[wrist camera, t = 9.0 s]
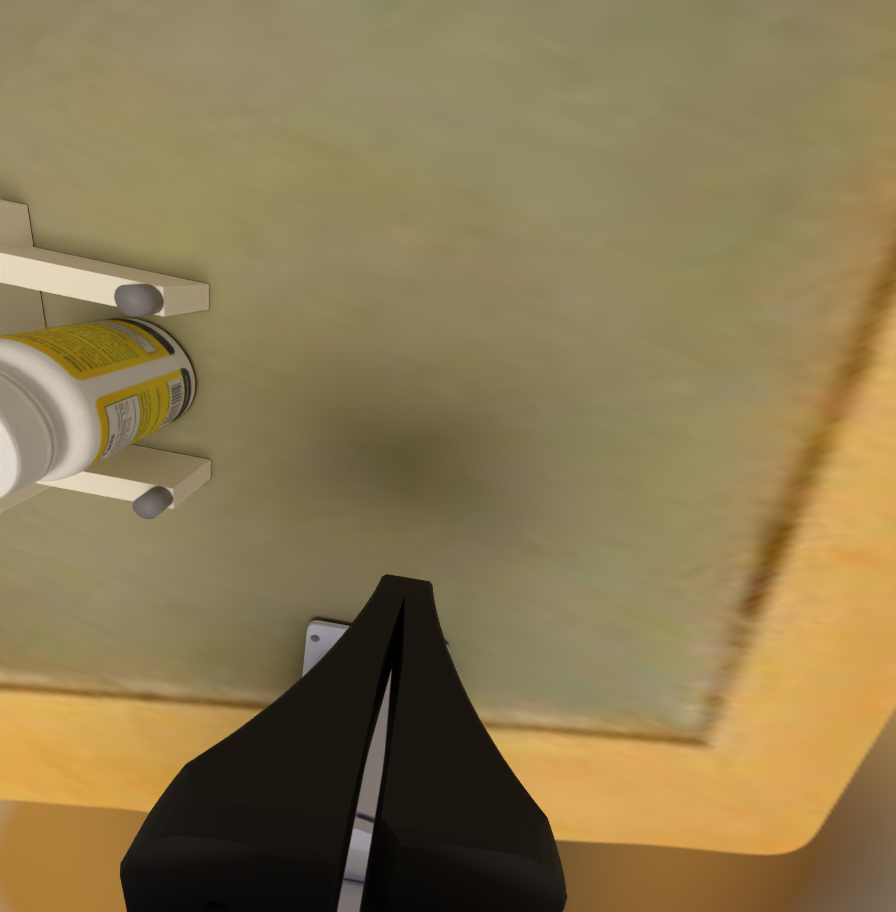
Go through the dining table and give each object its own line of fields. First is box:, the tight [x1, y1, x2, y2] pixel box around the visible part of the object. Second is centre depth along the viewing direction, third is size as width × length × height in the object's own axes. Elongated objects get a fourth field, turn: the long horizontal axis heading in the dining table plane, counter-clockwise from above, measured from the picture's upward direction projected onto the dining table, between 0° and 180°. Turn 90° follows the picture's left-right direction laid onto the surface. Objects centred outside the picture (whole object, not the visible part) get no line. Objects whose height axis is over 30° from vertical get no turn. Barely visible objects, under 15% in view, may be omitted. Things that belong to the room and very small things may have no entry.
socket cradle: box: [0, 199, 211, 519], centre depth 18 cm, size 12×8×4 cm, turn 168°
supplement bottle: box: [0, 318, 195, 499], centre depth 16 cm, size 5×5×8 cm
